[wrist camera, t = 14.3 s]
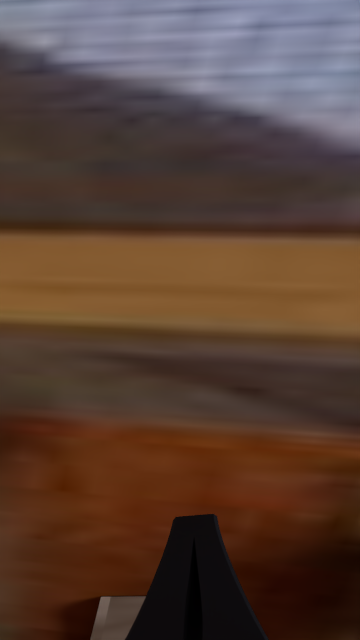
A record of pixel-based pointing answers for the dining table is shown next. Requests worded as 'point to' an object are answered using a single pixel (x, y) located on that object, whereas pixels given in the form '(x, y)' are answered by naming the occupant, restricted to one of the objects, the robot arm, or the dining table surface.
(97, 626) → the tray
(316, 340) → the dining table surface
